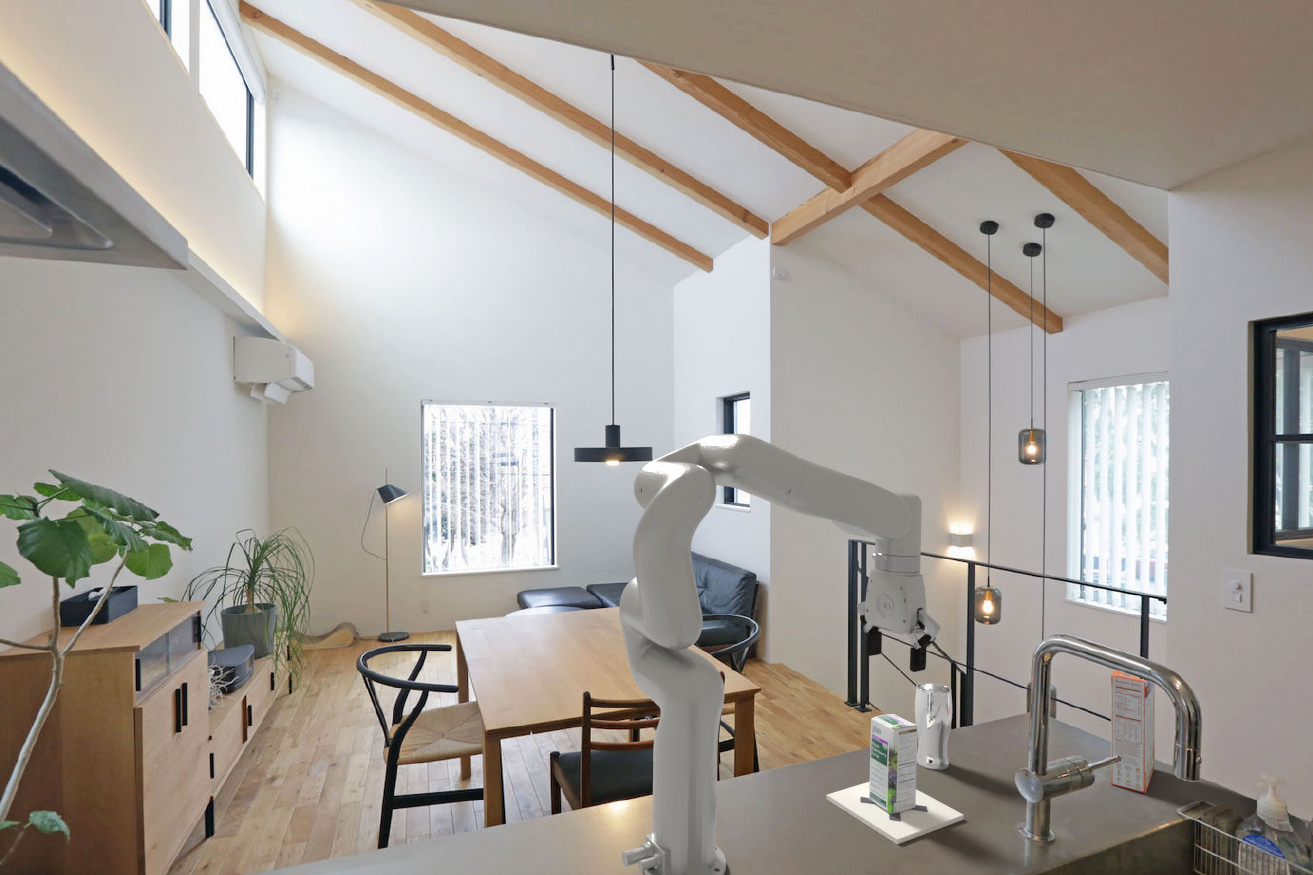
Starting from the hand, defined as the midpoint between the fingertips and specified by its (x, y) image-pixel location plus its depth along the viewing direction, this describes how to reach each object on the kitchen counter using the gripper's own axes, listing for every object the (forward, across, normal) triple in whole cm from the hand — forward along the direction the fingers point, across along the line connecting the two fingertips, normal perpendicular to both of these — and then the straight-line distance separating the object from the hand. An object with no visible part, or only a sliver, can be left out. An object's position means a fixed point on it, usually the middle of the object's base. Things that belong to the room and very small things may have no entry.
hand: (895, 662), depth 124 cm
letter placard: (+26, 0, 0) cm, 26 cm away
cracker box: (+25, +13, +51) cm, 59 cm away
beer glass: (+26, -9, +21) cm, 35 cm away
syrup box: (+25, 0, 0) cm, 25 cm away
